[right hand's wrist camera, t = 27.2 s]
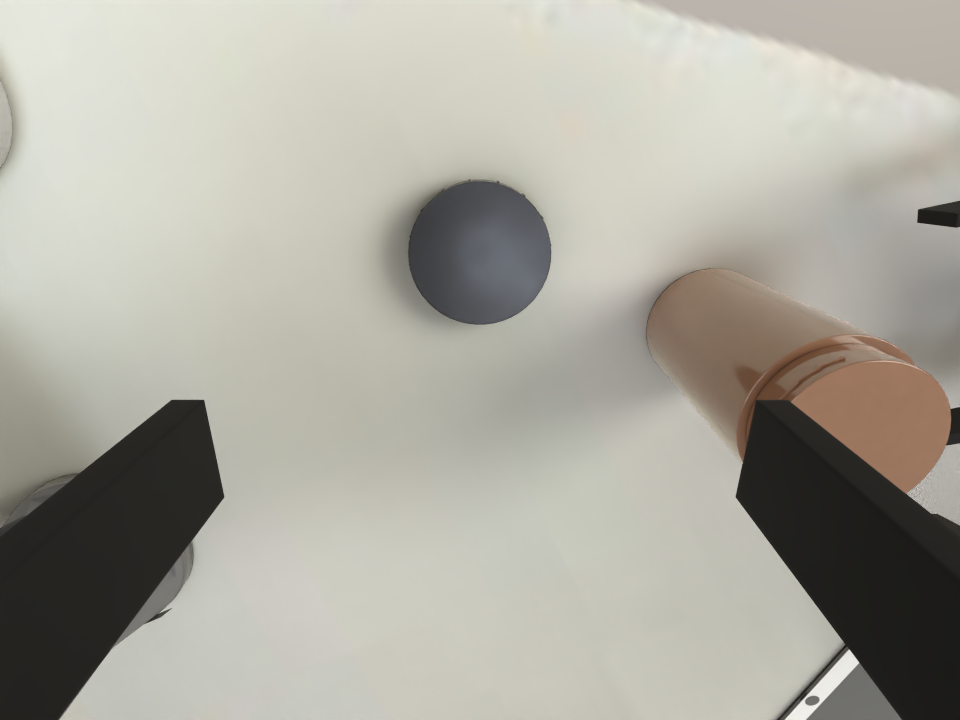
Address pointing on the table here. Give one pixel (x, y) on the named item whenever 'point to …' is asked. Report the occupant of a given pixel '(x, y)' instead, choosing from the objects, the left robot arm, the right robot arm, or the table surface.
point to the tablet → (842, 695)
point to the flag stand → (4, 125)
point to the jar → (796, 371)
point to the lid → (479, 252)
